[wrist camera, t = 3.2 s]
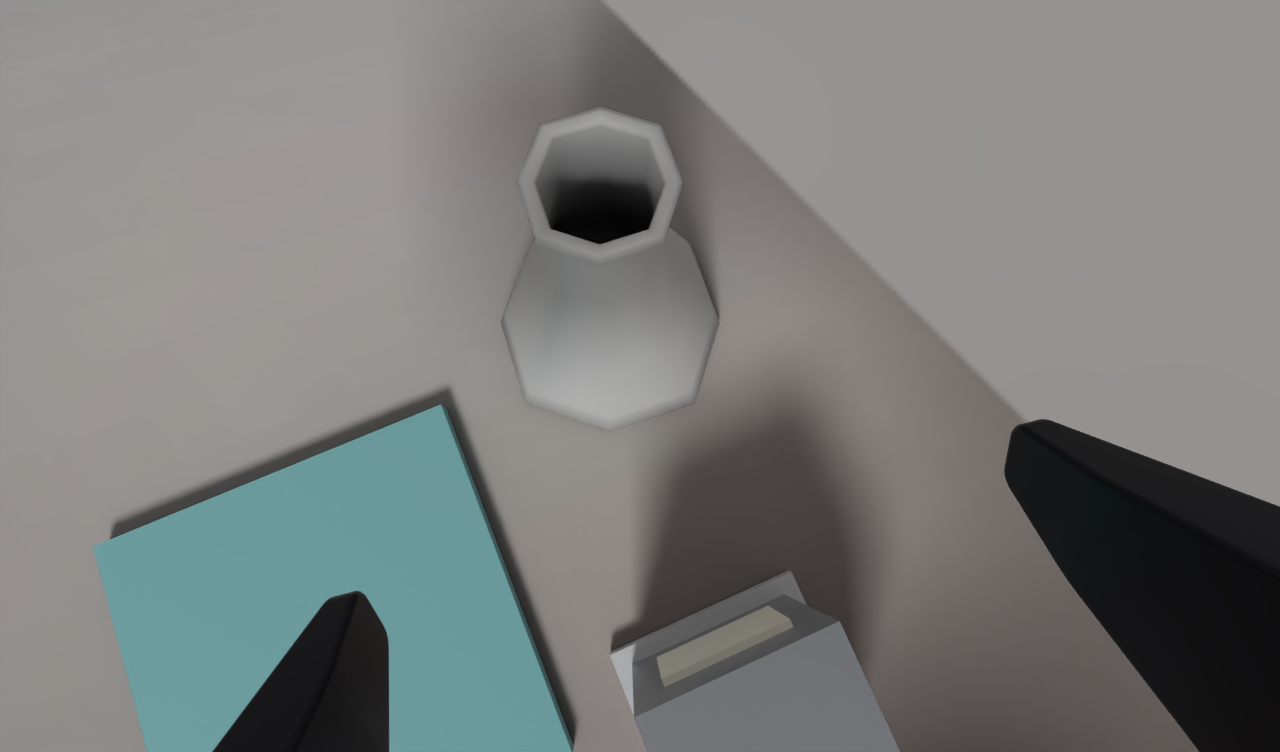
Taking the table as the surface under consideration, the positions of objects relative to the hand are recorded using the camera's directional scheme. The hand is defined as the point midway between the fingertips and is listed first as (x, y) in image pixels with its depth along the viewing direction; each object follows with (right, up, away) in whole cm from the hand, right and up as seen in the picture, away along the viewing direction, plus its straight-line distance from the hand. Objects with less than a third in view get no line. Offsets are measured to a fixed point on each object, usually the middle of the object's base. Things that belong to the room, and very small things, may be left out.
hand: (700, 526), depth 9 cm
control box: (+2, -8, +11) cm, 14 cm away
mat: (-10, -6, +11) cm, 16 cm away
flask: (-2, +4, +14) cm, 14 cm away
